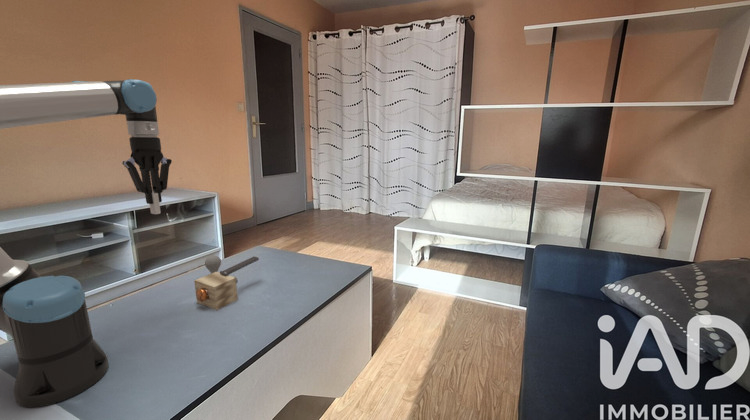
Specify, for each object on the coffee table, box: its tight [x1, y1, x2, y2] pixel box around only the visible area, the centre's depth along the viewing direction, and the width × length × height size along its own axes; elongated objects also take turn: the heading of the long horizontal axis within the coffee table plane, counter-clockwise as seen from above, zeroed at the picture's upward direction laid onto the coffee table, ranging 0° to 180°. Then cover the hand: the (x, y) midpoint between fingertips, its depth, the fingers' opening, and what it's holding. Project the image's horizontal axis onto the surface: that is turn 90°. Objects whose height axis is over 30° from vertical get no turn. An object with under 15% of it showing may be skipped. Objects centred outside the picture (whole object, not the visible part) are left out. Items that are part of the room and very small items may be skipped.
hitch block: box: [193, 271, 238, 311], centre depth 107 cm, size 8×10×8 cm
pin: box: [195, 276, 238, 302], centre depth 107 cm, size 13×4×4 cm, turn 152°
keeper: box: [219, 256, 260, 276], centre depth 114 cm, size 15×3×1 cm, turn 152°
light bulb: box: [204, 255, 222, 274], centre depth 122 cm, size 5×6×10 cm
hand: (155, 213), depth 100 cm, fingers closed
